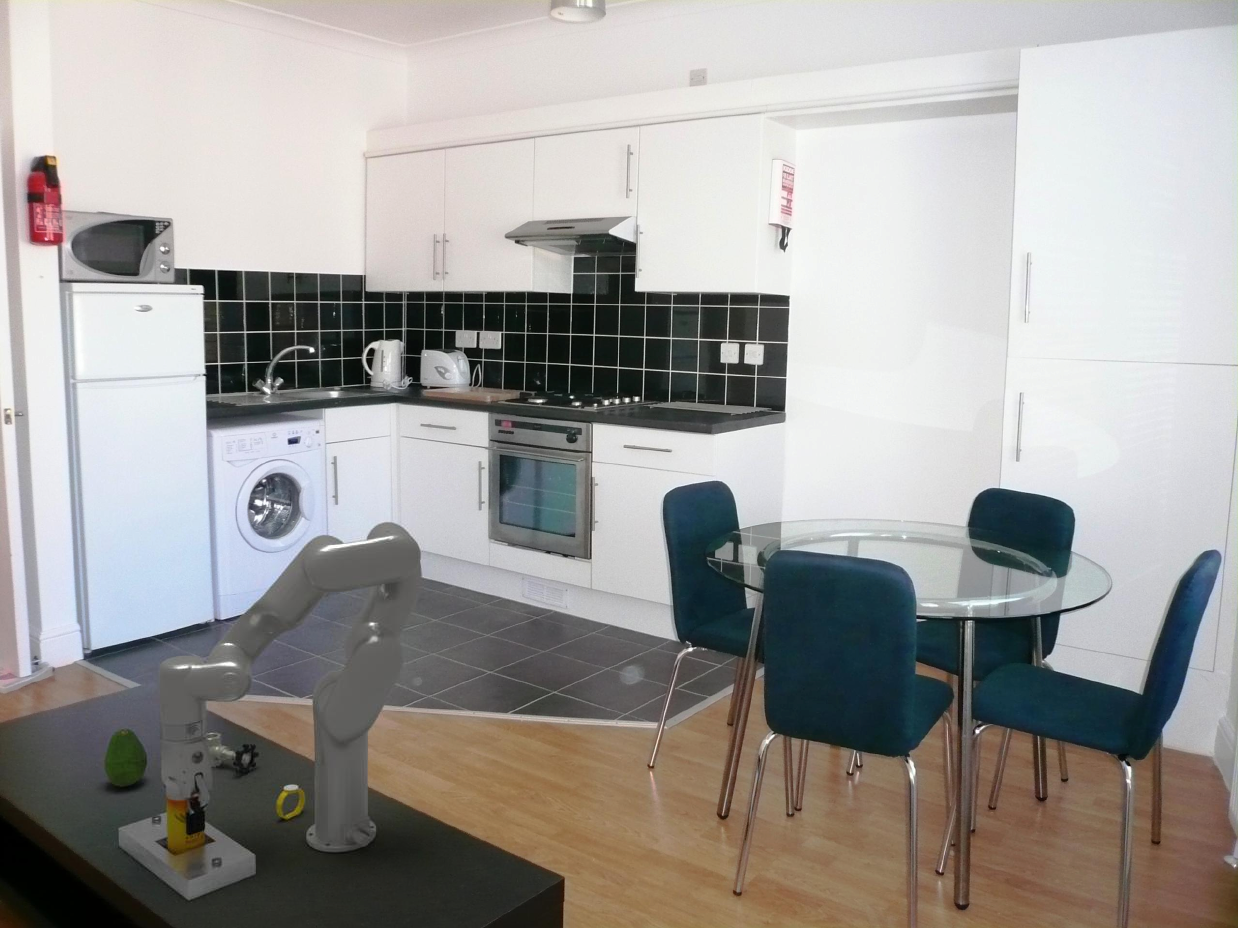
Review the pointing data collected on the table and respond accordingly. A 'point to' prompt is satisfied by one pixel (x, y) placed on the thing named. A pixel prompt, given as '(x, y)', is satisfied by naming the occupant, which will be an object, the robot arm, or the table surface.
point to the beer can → (179, 822)
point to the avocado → (125, 758)
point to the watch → (286, 790)
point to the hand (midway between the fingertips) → (186, 824)
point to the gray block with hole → (187, 857)
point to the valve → (230, 754)
